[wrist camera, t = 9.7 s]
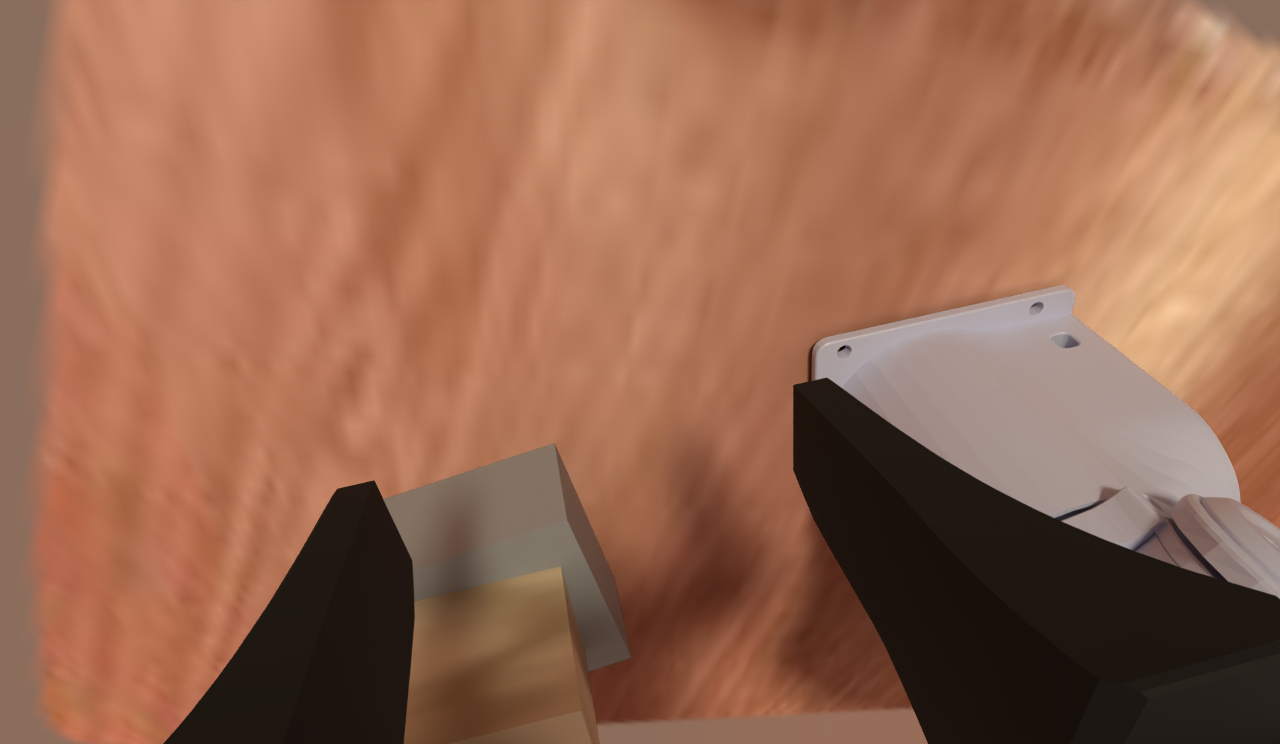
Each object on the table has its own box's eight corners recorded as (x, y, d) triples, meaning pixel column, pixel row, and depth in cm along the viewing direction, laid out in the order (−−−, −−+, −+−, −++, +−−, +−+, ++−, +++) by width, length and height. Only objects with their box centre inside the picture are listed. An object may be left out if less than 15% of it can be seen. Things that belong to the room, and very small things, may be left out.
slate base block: (553, 436, 26) (567, 520, 23) (613, 573, 31) (631, 657, 28) (334, 508, 26) (318, 601, 23) (428, 634, 31) (426, 725, 28)
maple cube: (560, 566, 24) (581, 710, 20) (585, 651, 27) (607, 792, 23) (412, 601, 24) (402, 755, 20) (452, 683, 27) (451, 832, 23)
